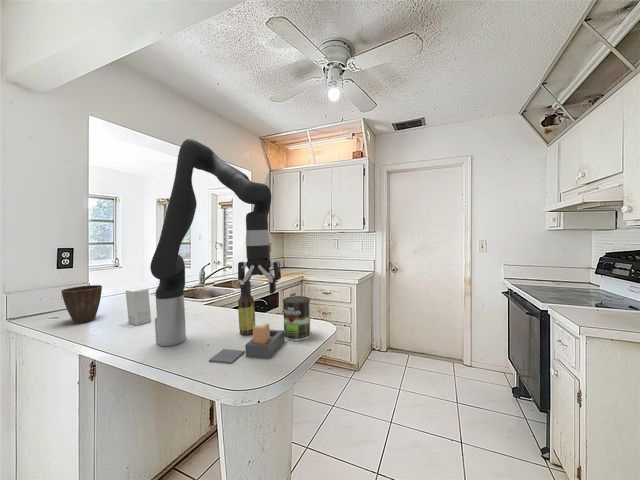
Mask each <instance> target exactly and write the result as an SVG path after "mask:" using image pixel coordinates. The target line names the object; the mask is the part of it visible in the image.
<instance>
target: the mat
mask: <svg viewBox="0 0 640 480" xmlns="http://www.w3.org/2000/svg"><path fill="white" fill-rule="evenodd" d="M244 354H246V350H240V349H226V348H223V349H222V350H220V351H219V352H217V353H216V354H215V355H214V356H212V357H211V358H209V359H208V363H219V364H230V365H232V364H233V363H235V362H236V361H237V360H238V359H239V358H241V357H242V356H243V355H244Z"/></svg>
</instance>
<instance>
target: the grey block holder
mask: <svg viewBox="0 0 640 480" xmlns="http://www.w3.org/2000/svg"><path fill="white" fill-rule="evenodd" d="M285 341H286V340H285V337H284V329H283V330H281V329H270V340H269V341H268V342H267V343H266V344H254V342H253V338H252V339H250V340H249V341H248V342H247V343H246V344H245V345H244V351H245V358H251V359H253V358H254V359H255V358H256V359H265V360H269V359H271V357H273V355H274V354H275V353H276V352H277V350H279V348H280V347H281V346H282V345H283V344H284V343H285Z"/></svg>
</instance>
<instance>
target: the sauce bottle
mask: <svg viewBox="0 0 640 480" xmlns="http://www.w3.org/2000/svg"><path fill="white" fill-rule="evenodd" d="M250 285H251V283H250ZM239 288H240V296H239V299H238V300H237V305H238V307H237V308H238V327H239V334H240V335H243V336H248V335H251V334H252V335H253V327H255V325H256V313H255V312H256V311H255V309H256V308H255V299H254V298H253V296H252V294H251V292H250V293H246V292H245V291H244V282H241V283H239Z"/></svg>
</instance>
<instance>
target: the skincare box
mask: <svg viewBox="0 0 640 480" xmlns="http://www.w3.org/2000/svg"><path fill="white" fill-rule="evenodd" d="M125 299H126V308H127V309H126V310H127V316H128V317H127V319H128V324H130V325H134V326H141V325H143V324H147V323H151V322H152V316H151V315H152V313H151V305H150V304H151V303H150V293H149V288H145V287H136V288H133V289H132V288H131V289H126V290H125Z"/></svg>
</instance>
